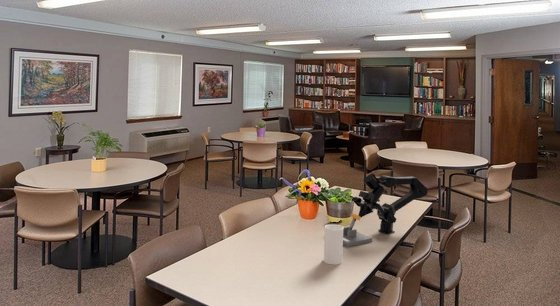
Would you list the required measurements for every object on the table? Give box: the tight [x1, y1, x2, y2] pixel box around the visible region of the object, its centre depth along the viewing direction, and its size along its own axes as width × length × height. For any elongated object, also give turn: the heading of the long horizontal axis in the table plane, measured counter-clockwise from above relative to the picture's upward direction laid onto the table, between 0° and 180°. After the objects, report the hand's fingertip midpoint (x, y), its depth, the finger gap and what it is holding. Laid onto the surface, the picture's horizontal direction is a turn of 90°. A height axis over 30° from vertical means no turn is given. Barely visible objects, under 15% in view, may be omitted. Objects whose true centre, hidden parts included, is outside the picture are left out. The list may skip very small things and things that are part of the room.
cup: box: [323, 223, 344, 266], centre depth 193 cm, size 8×8×16 cm
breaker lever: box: [347, 213, 362, 232], centre depth 224 cm, size 2×5×11 cm, turn 32°
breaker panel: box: [343, 226, 373, 248], centre depth 223 cm, size 16×18×6 cm
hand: (358, 217), depth 226 cm, fingers closed
